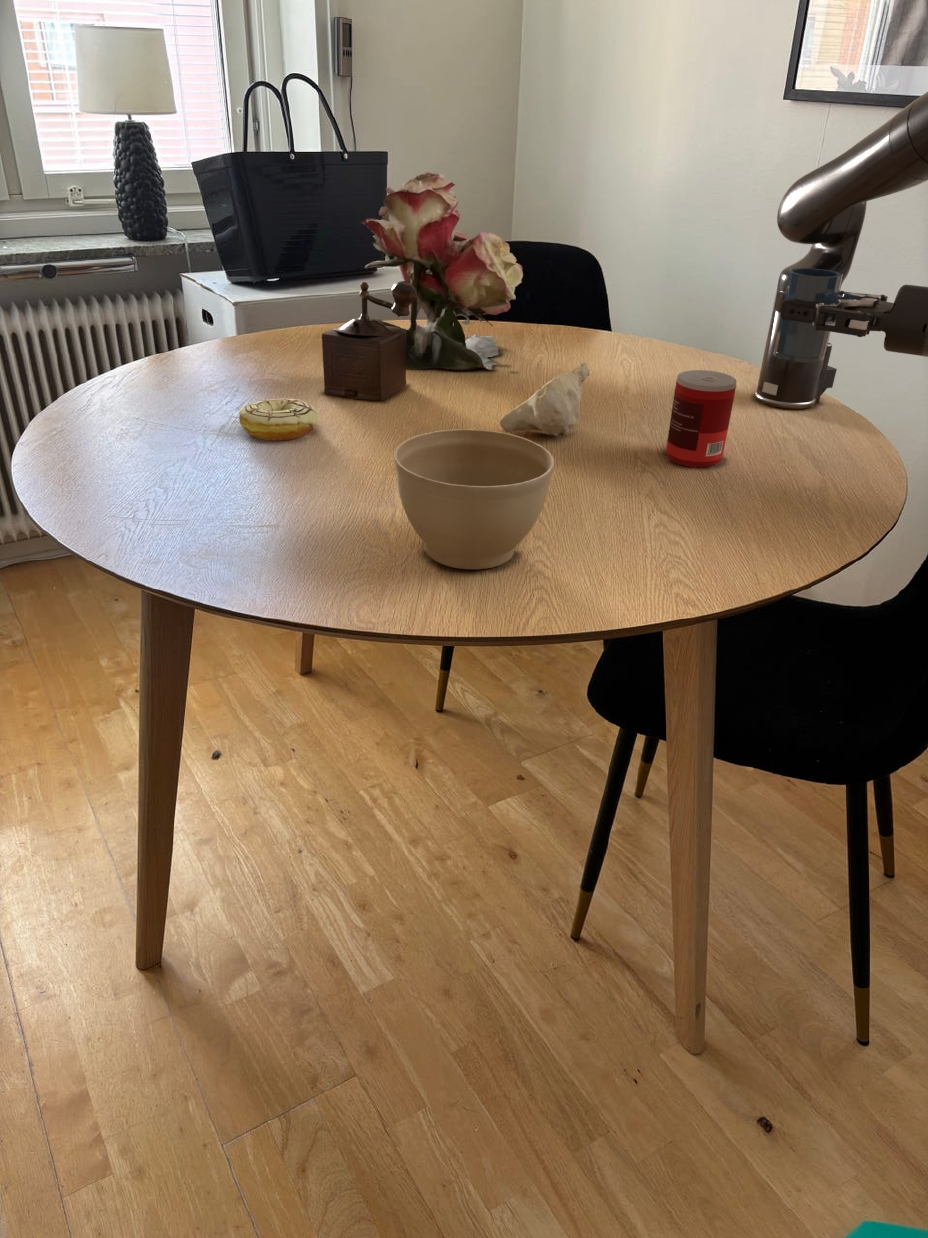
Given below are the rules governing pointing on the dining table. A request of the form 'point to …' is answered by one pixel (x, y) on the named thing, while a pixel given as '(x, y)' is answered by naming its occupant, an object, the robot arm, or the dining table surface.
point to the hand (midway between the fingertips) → (788, 304)
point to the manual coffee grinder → (368, 351)
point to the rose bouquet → (443, 273)
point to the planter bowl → (472, 493)
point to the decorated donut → (278, 418)
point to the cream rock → (550, 405)
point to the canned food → (700, 417)
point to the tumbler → (801, 337)
